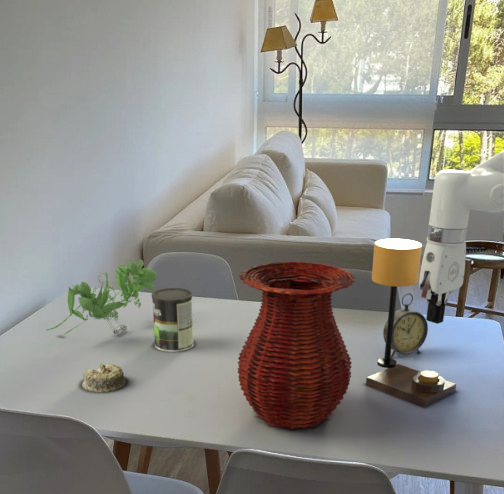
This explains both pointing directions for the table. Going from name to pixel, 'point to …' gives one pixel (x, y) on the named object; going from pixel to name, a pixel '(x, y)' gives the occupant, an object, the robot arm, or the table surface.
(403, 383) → the lamp base
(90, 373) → the cake
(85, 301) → the plant cuttings
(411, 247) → the lamp
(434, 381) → the lamp switch
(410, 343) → the alarm clock
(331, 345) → the vase
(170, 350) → the coffee can
